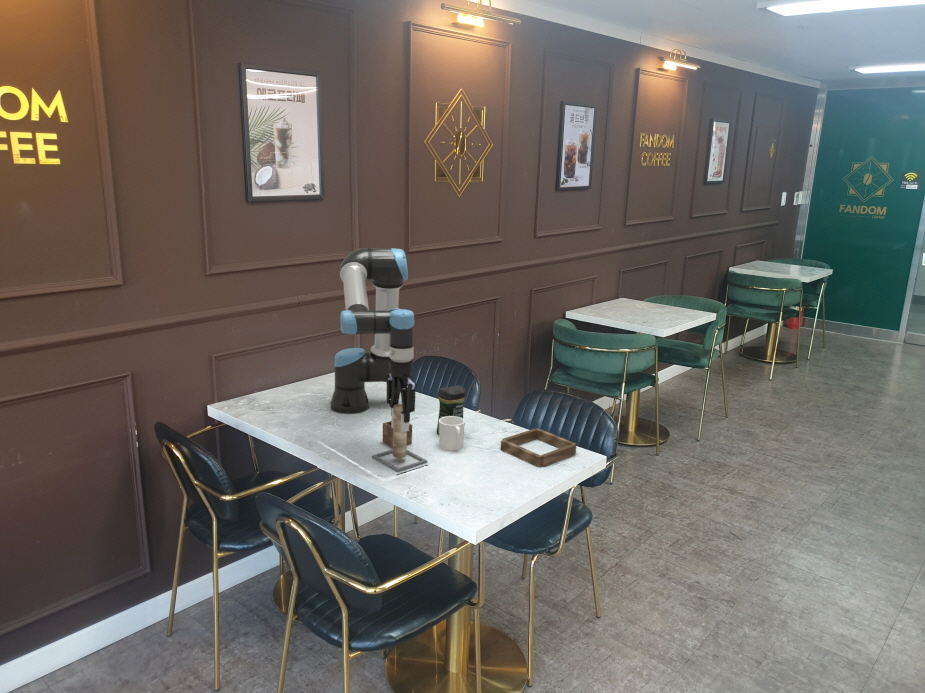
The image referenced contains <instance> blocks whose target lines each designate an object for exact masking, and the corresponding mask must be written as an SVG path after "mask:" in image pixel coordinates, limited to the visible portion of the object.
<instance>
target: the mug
mask: <svg viewBox="0 0 925 693" xmlns="http://www.w3.org/2000/svg"><path fill="white" fill-rule="evenodd" d="M465 423H466V420H465V419H464V417H463V418H460V417H456V416H446V417H442V418H440V419H439V435H438V447H439V449H441V450H444V451H452V452H453V451H458V450H459V451H460V450H462V449H463V445H464V435H465Z"/></svg>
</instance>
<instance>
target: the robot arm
mask: <svg viewBox="0 0 925 693" xmlns="http://www.w3.org/2000/svg"><path fill="white" fill-rule="evenodd" d="M407 261H408V260H407V256H406V253H405V251H404V250H403V249H401V248H393V247H391V248H390V247H387V248H385V247H382V248H381V247H379V248H376V247H373V248H372V247H370V248H369V247H361V248H357V249H355V250H353V251H351V252H350V253H348V254H347V255H346V256H345V257H344V258H343V260H342V262H341V263H340V267H339V278H340V280H341V282H342V284H343V293H344V294H343V295H344V304H345V305H344V306H345V310H341V312H340V332H341V333H342V334H344V335H346V334H347V335H352V336H353V335H370V334H371V335H372V334H373V335H374V344H373V345H372V346H371V347H370V352H366V351H365V349H364V348H362V347H352V348H351V347H350V348H345V349H342V350H340V351H338V352H337V353H336V354H335V356H334V364H333V366H334V390H333V392H332V396H331V400H330V401H329V405H330V406H329V408H330V410H331V411H333V412H335V413H338V414H339V413H340V414H346V415H347V414H359V413H362V412H365V411H367V410H369V407H370V401H369V397H368V395H367V391H366V387H365V383H386V404H387V405H389V407H390V416H391V420H390V421H391V427H392V428H393V407H394V405H395V404H400V403H399V401H400V399H401V404H402V408H403V412H401V432H406V431H409V424H410V421H411V413H413V412H414V413H415V410H416V392H417V391H416V390H417V387H418V384H417V382H413V381H412V377H411V373H412V372H413V371H414V360H413V359H414V358H415V357H414V356H415V355H414V348H415V347H414V346H415V345H414V337H415V336H414V333H415V332H414V331H415V313H414V311H412V310H409V309H405V308H402V309H401V308H399V302H400V300H399V299H400V298H399V297H400V289H401V288H402V287H403V286H404V282H406V281H408V279H409V271H408V263H407ZM366 281H371V284H372V286H373V287H374V288H375V309H374V310H370V309H369V301H368V300H369V298H368V292H367V285H366Z"/></svg>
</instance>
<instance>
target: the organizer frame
mask: <svg viewBox="0 0 925 693" xmlns="http://www.w3.org/2000/svg"><path fill="white" fill-rule="evenodd" d="M535 440H538V441H540V442H543V443H545V444H547V445H550V446H552V447H555V448H556V449H553V450H552V451H551V450H550V451H549V452H546V453H543V454H538V453H536V452H534V451H531V450H529V449H527V448H526V447H525V448H524V447H522V446H521V445H523V444H526V443H529V442H533V441H535ZM500 451H502V452H504V453H506V454H508V455H511V456H512V457H515V458H517V459H519V460H522V461H524V462H526V463H528V464H530V465H533V466H535V467H537V468H541V467H546V466H550V465H551V464H554V463H558V462H560V461H562V460H565V459H567V458H570V457H573V456H575V455H576V453H577V442H576V443H575V442H573V441H572V440H568V439H565V438H563V437H561V436H558V435H556V434H554V433H551V432H548V431H546V430H544V429H541V428H539V427H538V428H531V429H529V430H525V431H523V432H522V431H521V432H520V433H516V434H513V435H511V436H507V437H504V438H502V439H501V440H500Z"/></svg>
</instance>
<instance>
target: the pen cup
mask: <svg viewBox="0 0 925 693" xmlns="http://www.w3.org/2000/svg"><path fill="white" fill-rule="evenodd" d="M382 443H383V444H385V445H387V446H389V447H390V448H392V449H393V428H392V427H391V420H390V421H386V422H382ZM412 444H413V424H411V423H409V431H407V446H410V445H412Z"/></svg>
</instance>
